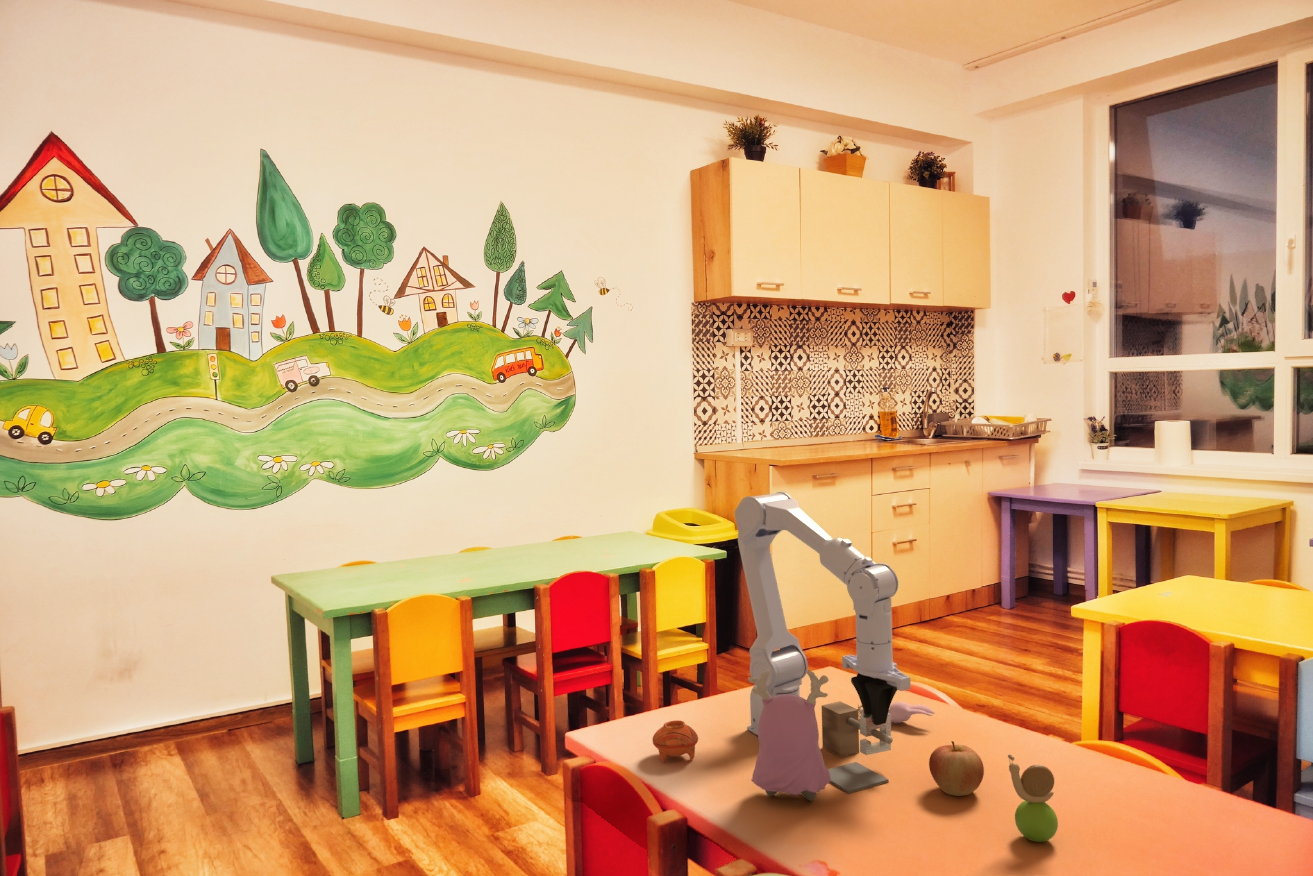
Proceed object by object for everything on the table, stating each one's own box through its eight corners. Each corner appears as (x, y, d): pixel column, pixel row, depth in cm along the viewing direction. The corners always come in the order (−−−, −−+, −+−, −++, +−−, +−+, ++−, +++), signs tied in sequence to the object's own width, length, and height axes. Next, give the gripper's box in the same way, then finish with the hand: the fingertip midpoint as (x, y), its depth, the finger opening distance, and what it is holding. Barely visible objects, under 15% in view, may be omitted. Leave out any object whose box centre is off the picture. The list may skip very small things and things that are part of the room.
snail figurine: (1001, 832, 124) (999, 747, 124) (1045, 828, 125) (1043, 744, 124) (1020, 851, 119) (1018, 763, 118) (1066, 848, 119) (1065, 760, 119)
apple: (927, 799, 135) (926, 748, 135) (931, 778, 142) (930, 729, 142) (983, 807, 132) (982, 754, 132) (984, 784, 139) (984, 734, 139)
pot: (678, 770, 148) (669, 729, 148) (648, 768, 153) (640, 728, 154) (712, 755, 153) (703, 715, 154) (682, 753, 159) (674, 715, 160)
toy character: (835, 787, 140) (832, 662, 139) (825, 817, 130) (822, 682, 130) (759, 778, 144) (756, 657, 143) (745, 807, 134) (741, 676, 134)
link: (859, 751, 146) (860, 715, 145) (884, 746, 148) (884, 711, 147) (866, 755, 144) (866, 718, 144) (890, 750, 146) (890, 714, 146)
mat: (817, 774, 145) (817, 772, 145) (856, 764, 149) (856, 761, 149) (848, 793, 138) (848, 790, 138) (888, 781, 141) (888, 779, 141)
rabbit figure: (852, 728, 168) (930, 729, 160) (846, 696, 169) (924, 696, 160) (863, 717, 173) (940, 718, 165) (858, 687, 174) (934, 686, 165)
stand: (822, 747, 156) (821, 705, 156) (840, 742, 158) (839, 701, 157) (882, 780, 142) (881, 734, 142) (901, 775, 144) (900, 729, 143)
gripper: (924, 646, 140) (926, 730, 141) (864, 626, 153) (866, 704, 154) (889, 653, 137) (891, 739, 138) (831, 632, 150) (833, 711, 151)
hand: (876, 721), depth 146 cm, fingers closed on link, 1 cm apart
